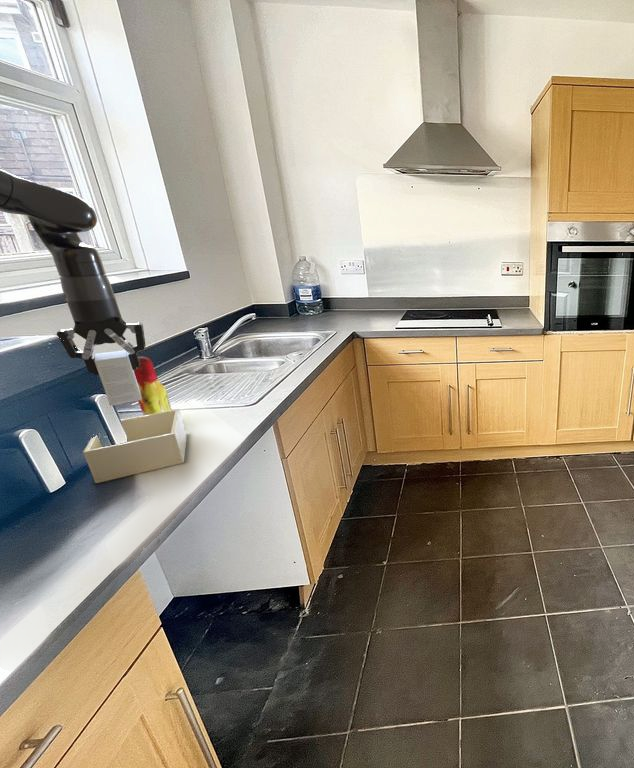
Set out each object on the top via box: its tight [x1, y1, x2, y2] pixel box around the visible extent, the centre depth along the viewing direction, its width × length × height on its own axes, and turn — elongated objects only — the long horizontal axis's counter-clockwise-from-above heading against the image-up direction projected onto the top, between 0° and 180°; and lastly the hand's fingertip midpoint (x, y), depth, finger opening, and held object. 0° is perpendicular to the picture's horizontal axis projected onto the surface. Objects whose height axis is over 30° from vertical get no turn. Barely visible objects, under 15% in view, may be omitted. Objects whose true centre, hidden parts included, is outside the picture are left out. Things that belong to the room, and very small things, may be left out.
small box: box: [94, 349, 142, 407], centre depth 94 cm, size 8×6×10 cm
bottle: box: [134, 356, 172, 416], centre depth 117 cm, size 12×6×20 cm, turn 30°
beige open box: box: [82, 408, 188, 484], centre depth 101 cm, size 16×18×8 cm
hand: (116, 371), depth 94 cm, fingers closed on small box, 6 cm apart
